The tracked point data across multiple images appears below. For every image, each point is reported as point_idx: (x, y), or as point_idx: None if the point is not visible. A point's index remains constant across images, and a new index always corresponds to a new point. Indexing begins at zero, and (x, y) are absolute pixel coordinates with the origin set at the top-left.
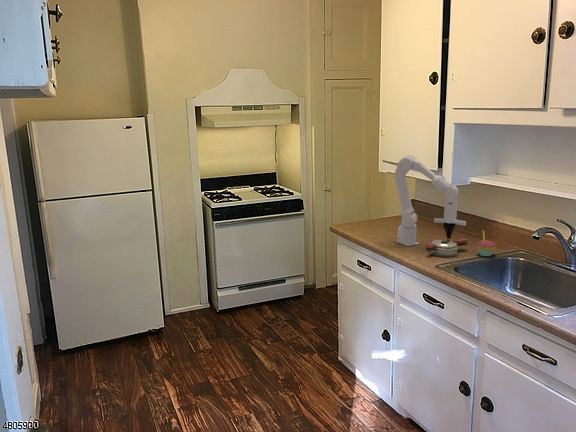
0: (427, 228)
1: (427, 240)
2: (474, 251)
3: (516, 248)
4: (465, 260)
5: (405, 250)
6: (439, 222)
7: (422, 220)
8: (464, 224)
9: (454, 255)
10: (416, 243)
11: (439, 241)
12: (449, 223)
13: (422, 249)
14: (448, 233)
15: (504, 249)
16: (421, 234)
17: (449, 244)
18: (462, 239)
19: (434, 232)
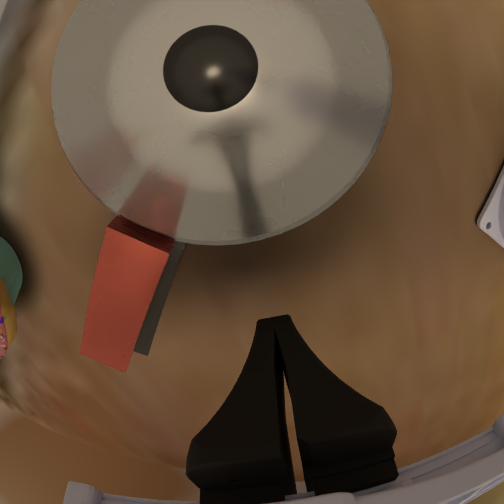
0: (438, 439)
1: (439, 329)
2: (74, 299)
3: (29, 414)
4: (10, 57)
5: (494, 24)
6: (458, 448)
7: None
8: (69, 497)
9: None
10: (494, 204)
11: (306, 103)
12: (302, 498)
13: (428, 97)
14: (285, 366)
15: (34, 392)
16: (465, 382)
17: (119, 56)
18: (115, 337)
19: (412, 431)
